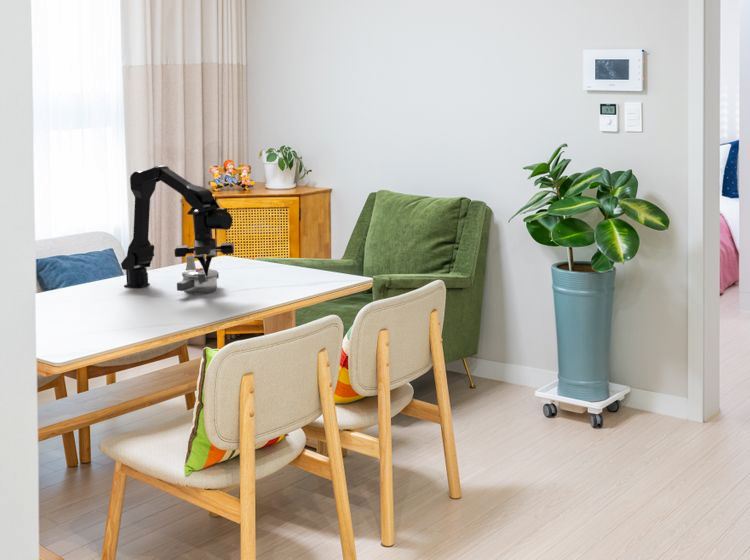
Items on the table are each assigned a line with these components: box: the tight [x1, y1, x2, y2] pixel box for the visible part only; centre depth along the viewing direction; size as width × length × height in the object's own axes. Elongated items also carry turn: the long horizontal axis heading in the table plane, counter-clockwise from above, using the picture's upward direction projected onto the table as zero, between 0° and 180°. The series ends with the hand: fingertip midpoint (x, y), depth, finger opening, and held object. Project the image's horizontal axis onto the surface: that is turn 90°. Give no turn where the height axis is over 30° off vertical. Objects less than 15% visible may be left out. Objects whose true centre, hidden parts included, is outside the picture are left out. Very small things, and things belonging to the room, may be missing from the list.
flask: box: [181, 255, 197, 281], centre depth 328 cm, size 7×7×10 cm
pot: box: [176, 271, 220, 295], centre depth 317 cm, size 20×11×5 cm, turn 158°
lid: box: [181, 267, 218, 282], centre depth 315 cm, size 18×12×2 cm, turn 14°
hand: (206, 275), depth 310 cm, fingers closed
